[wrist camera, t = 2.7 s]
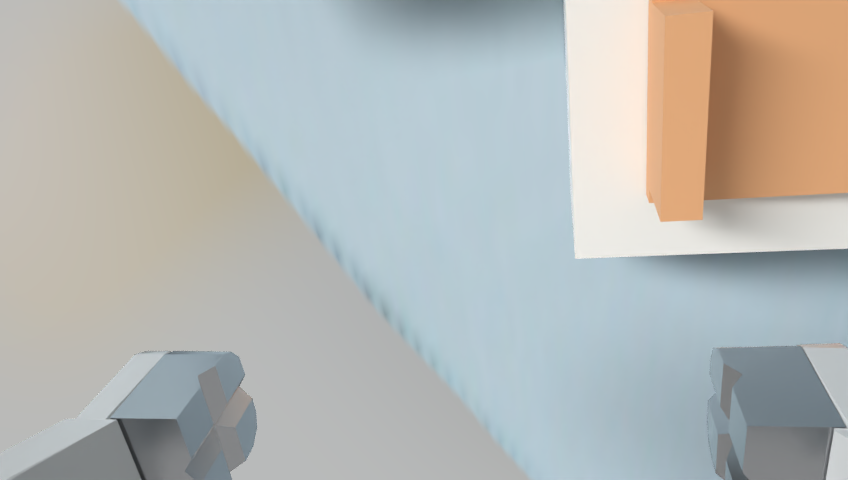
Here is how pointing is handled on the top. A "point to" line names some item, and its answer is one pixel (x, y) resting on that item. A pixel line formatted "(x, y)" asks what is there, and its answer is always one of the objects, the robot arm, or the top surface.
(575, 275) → the top surface
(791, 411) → the robot arm
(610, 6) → the socket
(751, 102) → the shutter
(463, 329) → the top surface
